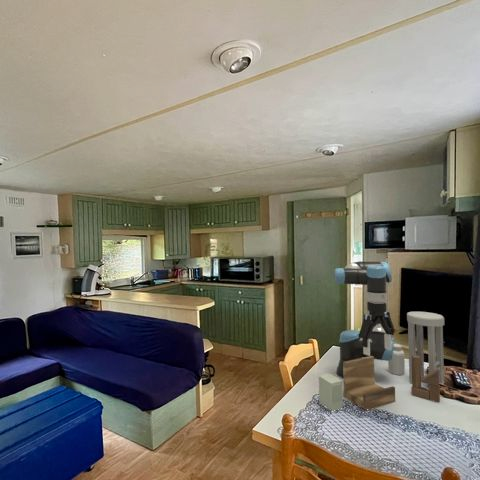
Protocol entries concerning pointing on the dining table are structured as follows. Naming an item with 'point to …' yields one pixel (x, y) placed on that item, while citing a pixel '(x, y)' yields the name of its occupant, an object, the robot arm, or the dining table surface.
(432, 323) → the stool
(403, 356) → the pill bottle
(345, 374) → the wooden display stand
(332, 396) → the sage green upright block
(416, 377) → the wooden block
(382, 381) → the dining table surface
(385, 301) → the robot arm
